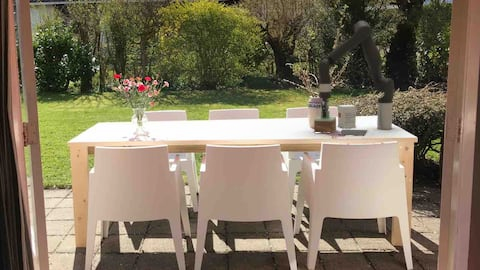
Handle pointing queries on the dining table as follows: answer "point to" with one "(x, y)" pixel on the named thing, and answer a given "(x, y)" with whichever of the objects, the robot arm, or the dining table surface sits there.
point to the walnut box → (325, 126)
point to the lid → (325, 118)
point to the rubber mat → (353, 132)
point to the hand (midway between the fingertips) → (325, 116)
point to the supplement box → (347, 116)
